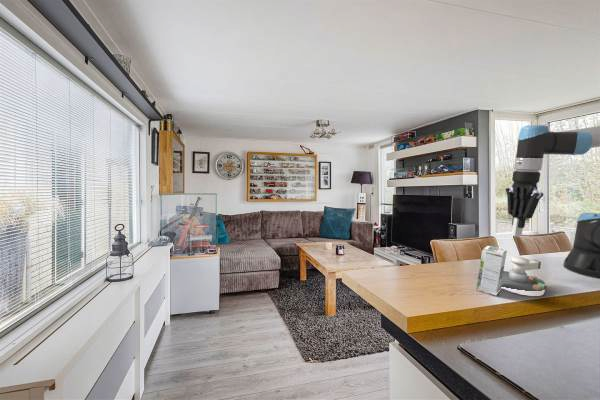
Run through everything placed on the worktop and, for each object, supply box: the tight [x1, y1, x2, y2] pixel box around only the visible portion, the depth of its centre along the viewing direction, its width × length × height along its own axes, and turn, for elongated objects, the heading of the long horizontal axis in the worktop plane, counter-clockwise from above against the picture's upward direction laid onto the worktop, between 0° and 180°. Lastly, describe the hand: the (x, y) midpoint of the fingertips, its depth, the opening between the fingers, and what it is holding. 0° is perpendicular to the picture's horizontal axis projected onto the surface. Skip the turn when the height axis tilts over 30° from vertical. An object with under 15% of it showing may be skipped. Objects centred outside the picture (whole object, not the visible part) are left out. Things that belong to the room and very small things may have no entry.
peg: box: [510, 256, 542, 274], centre depth 96 cm, size 11×5×4 cm, turn 106°
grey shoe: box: [501, 269, 547, 291], centre depth 96 cm, size 15×15×5 cm
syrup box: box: [475, 245, 507, 293], centre depth 91 cm, size 6×6×14 cm
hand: (516, 235), depth 102 cm, fingers closed
